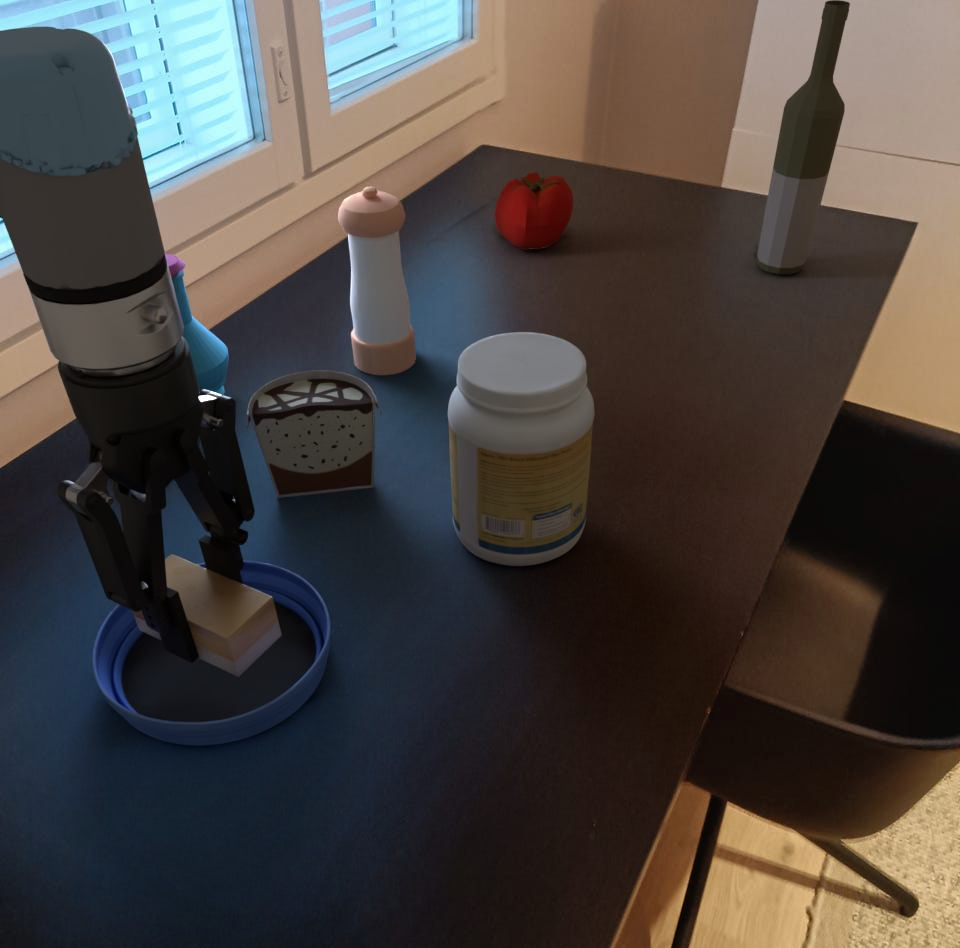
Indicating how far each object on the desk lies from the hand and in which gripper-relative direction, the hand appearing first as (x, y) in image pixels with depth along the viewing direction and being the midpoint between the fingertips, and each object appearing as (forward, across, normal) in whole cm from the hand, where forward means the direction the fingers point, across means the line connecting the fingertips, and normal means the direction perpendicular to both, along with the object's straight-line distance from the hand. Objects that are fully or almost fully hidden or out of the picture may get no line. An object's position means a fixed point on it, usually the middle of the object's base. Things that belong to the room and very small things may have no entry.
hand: (208, 629), depth 71 cm
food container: (+4, +25, +9) cm, 27 cm away
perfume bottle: (+4, +30, +31) cm, 44 cm away
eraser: (0, 0, 0) cm, 0 cm away
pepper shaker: (+4, +47, +17) cm, 50 cm away
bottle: (+4, +94, -16) cm, 96 cm away
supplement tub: (+4, +27, -12) cm, 30 cm away
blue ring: (+4, 0, 0) cm, 4 cm away
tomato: (+4, +85, +18) cm, 87 cm away
